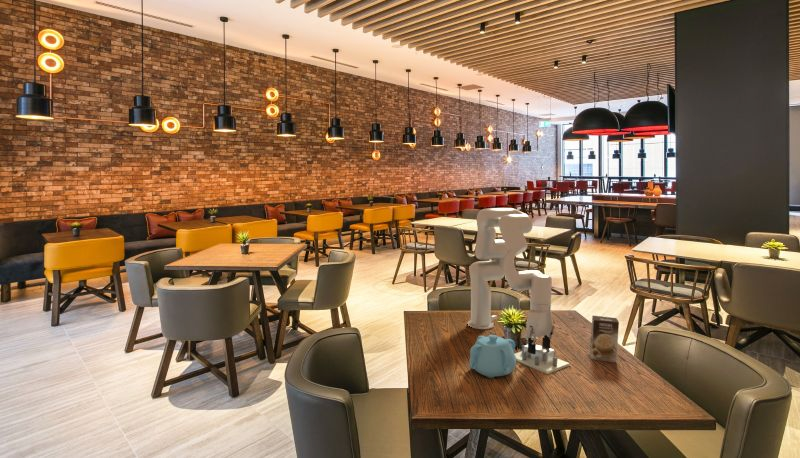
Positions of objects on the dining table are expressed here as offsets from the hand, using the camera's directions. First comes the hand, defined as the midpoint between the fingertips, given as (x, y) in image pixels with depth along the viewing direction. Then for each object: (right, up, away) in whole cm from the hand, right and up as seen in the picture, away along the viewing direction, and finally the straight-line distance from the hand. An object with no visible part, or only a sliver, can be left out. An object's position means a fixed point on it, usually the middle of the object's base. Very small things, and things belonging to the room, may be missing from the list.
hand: (539, 350), depth 168 cm
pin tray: (0, -4, 0) cm, 4 cm away
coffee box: (+27, -4, +4) cm, 27 cm away
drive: (0, -3, 0) cm, 3 cm away
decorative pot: (-20, -6, -8) cm, 22 cm away
